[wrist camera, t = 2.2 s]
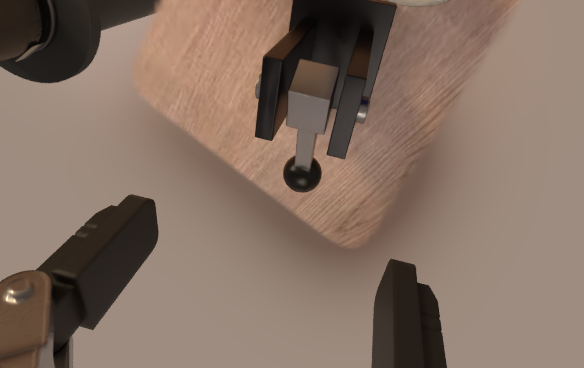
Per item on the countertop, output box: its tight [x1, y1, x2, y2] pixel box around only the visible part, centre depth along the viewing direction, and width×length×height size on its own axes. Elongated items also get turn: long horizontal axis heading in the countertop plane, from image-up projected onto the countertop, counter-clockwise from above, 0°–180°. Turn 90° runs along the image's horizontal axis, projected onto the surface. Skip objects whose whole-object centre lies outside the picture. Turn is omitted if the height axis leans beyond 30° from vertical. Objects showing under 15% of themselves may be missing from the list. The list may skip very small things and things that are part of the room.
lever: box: [283, 59, 340, 192], centre depth 23 cm, size 11×3×3 cm, turn 171°
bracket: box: [255, 0, 397, 159], centre depth 23 cm, size 8×7×12 cm
